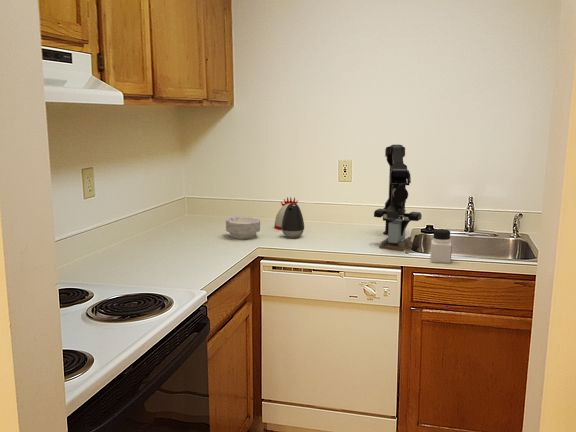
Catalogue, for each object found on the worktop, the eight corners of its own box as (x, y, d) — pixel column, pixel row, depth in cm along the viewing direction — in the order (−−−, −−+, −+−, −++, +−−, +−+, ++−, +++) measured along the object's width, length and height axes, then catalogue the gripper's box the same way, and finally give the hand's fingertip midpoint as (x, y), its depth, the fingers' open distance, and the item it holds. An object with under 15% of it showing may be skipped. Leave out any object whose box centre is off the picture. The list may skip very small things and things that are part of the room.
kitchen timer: (303, 231, 275) (303, 199, 272) (274, 230, 275) (274, 199, 272) (303, 225, 289) (303, 194, 286) (275, 224, 289) (275, 194, 286)
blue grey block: (395, 237, 250) (396, 219, 249) (404, 238, 248) (405, 220, 247) (387, 242, 241) (388, 223, 240) (397, 243, 240) (398, 224, 238)
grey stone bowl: (260, 240, 254) (260, 222, 253) (225, 240, 253) (225, 222, 252) (260, 233, 269) (260, 216, 268) (226, 233, 268) (226, 216, 267)
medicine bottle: (450, 263, 218) (452, 231, 216) (431, 262, 220) (432, 231, 218) (449, 258, 225) (451, 228, 223) (430, 257, 227) (431, 227, 224)
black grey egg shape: (277, 238, 259) (277, 204, 256) (286, 233, 269) (286, 200, 266) (299, 240, 255) (299, 205, 253) (307, 235, 265) (307, 202, 262)
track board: (390, 241, 254) (390, 234, 253) (413, 244, 249) (413, 237, 248) (379, 248, 242) (379, 241, 241) (402, 251, 237) (403, 243, 236)
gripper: (369, 198, 239) (368, 236, 242) (414, 202, 230) (413, 241, 233) (379, 195, 249) (377, 231, 252) (422, 198, 240) (420, 236, 243)
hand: (396, 235), depth 245 cm, fingers closed on blue grey block, 4 cm apart
